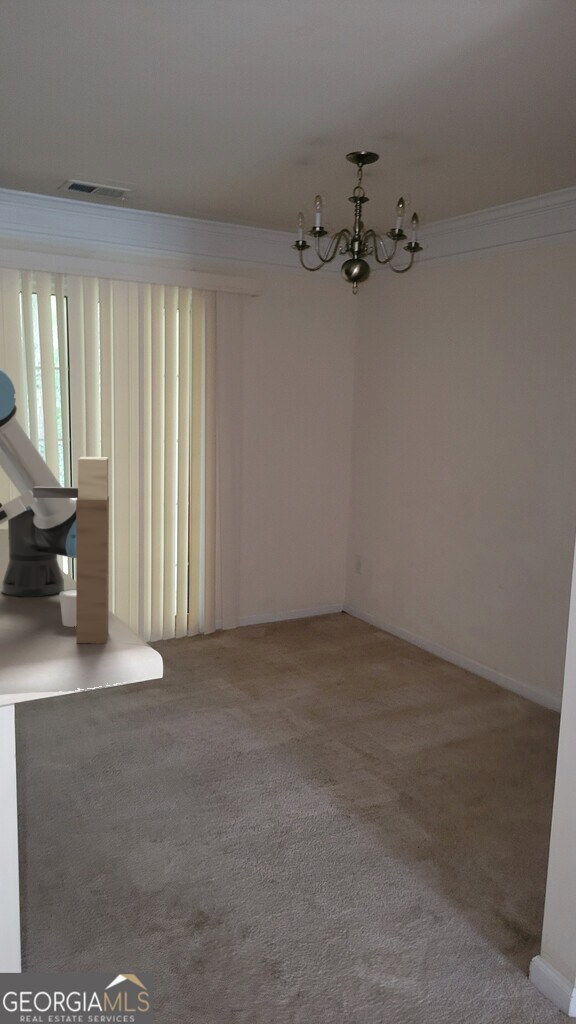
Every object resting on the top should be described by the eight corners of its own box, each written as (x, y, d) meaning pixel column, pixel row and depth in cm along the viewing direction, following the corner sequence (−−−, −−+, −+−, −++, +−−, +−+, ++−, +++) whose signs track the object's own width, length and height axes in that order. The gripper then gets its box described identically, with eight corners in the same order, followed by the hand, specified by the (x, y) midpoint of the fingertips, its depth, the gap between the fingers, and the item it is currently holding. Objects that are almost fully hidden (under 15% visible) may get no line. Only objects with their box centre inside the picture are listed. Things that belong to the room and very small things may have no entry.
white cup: (59, 628, 164) (59, 596, 163) (59, 619, 171) (59, 589, 170) (92, 627, 166) (92, 595, 165) (91, 618, 173) (91, 588, 172)
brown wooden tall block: (80, 632, 162) (80, 495, 158) (108, 632, 163) (108, 495, 159) (76, 643, 154) (76, 500, 150) (106, 643, 155) (106, 500, 151)
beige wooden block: (36, 495, 156) (36, 455, 155) (108, 496, 159) (108, 457, 157) (31, 499, 149) (30, 457, 148) (106, 500, 152) (106, 459, 151)
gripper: (-42, 557, 163) (47, 507, 165) (-78, 583, 139) (27, 525, 140) (-62, 526, 162) (28, 477, 163) (-101, 548, 137) (5, 490, 139)
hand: (28, 499), depth 152 cm, fingers open, 13 cm apart
